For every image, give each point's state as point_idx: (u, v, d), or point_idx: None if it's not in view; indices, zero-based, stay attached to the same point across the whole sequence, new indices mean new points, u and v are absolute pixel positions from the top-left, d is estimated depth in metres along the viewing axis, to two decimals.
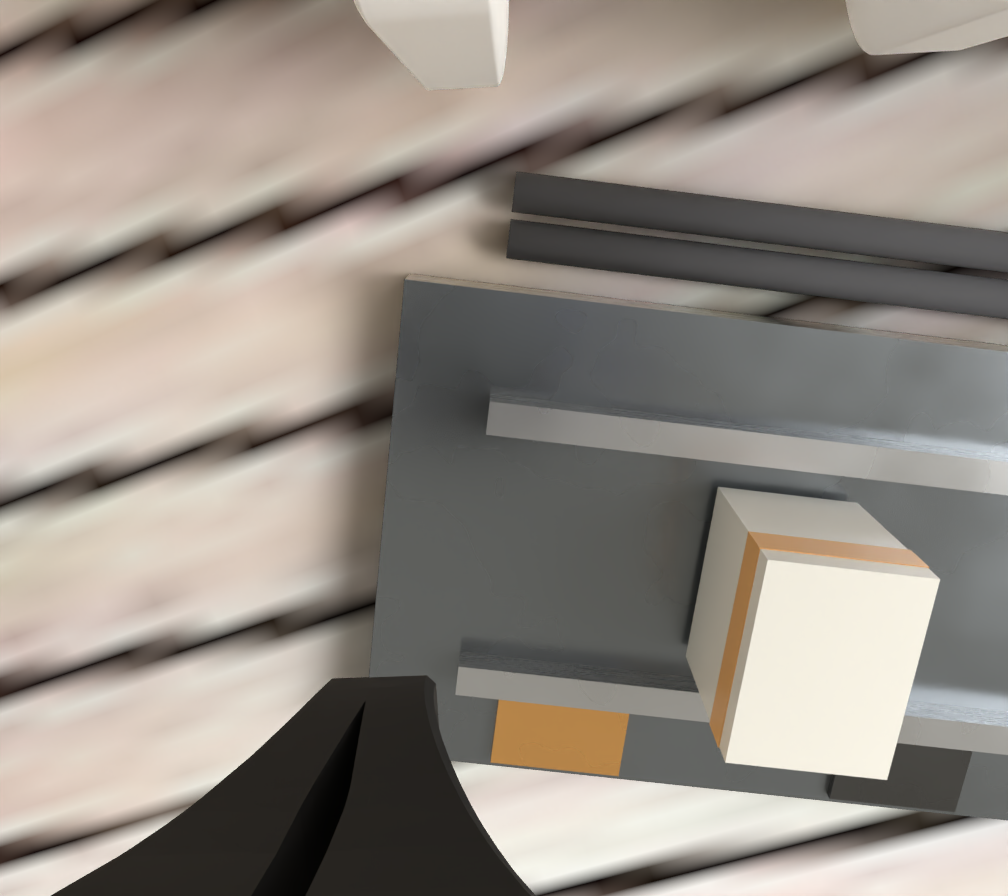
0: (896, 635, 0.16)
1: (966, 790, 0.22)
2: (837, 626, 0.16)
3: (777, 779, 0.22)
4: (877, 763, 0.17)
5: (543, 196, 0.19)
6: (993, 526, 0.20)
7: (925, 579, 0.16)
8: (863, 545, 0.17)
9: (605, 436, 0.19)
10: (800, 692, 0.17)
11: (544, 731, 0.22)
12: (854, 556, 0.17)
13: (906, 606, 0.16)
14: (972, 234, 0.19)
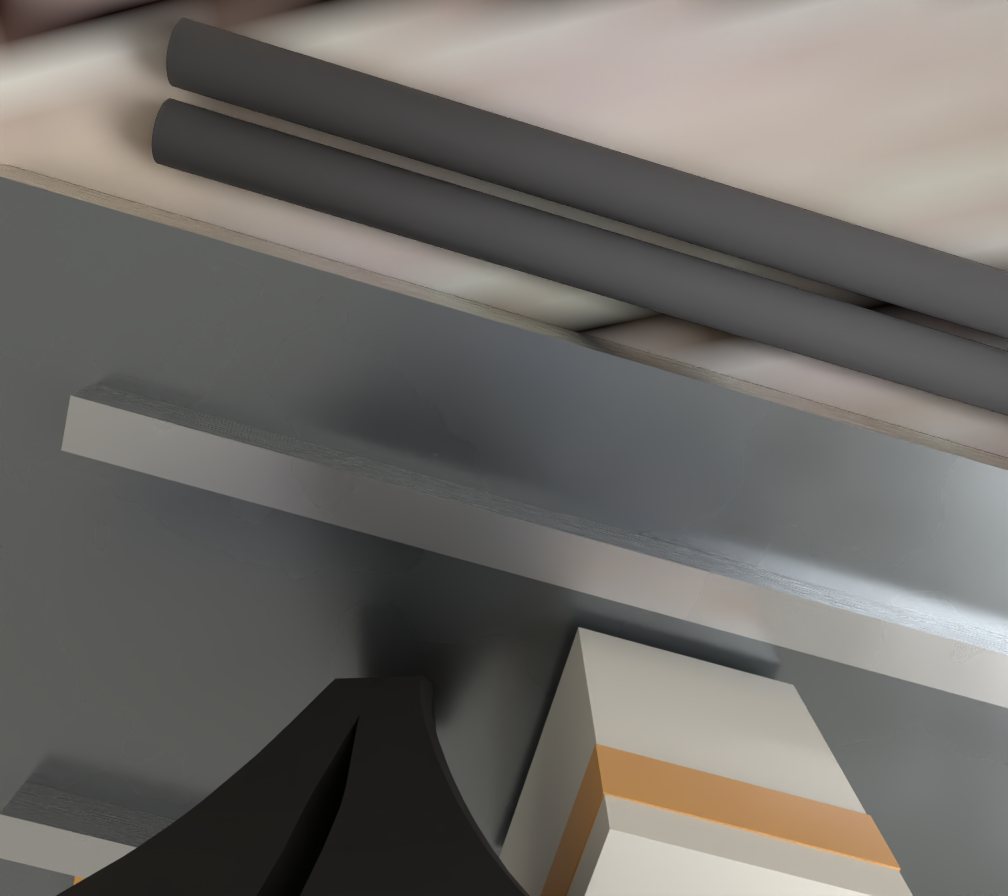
0: None
1: None
2: None
3: None
4: None
5: (217, 64, 0.11)
6: (878, 717, 0.13)
7: None
8: (790, 796, 0.10)
9: (263, 485, 0.11)
10: None
11: None
12: (771, 828, 0.09)
13: None
14: (915, 253, 0.12)
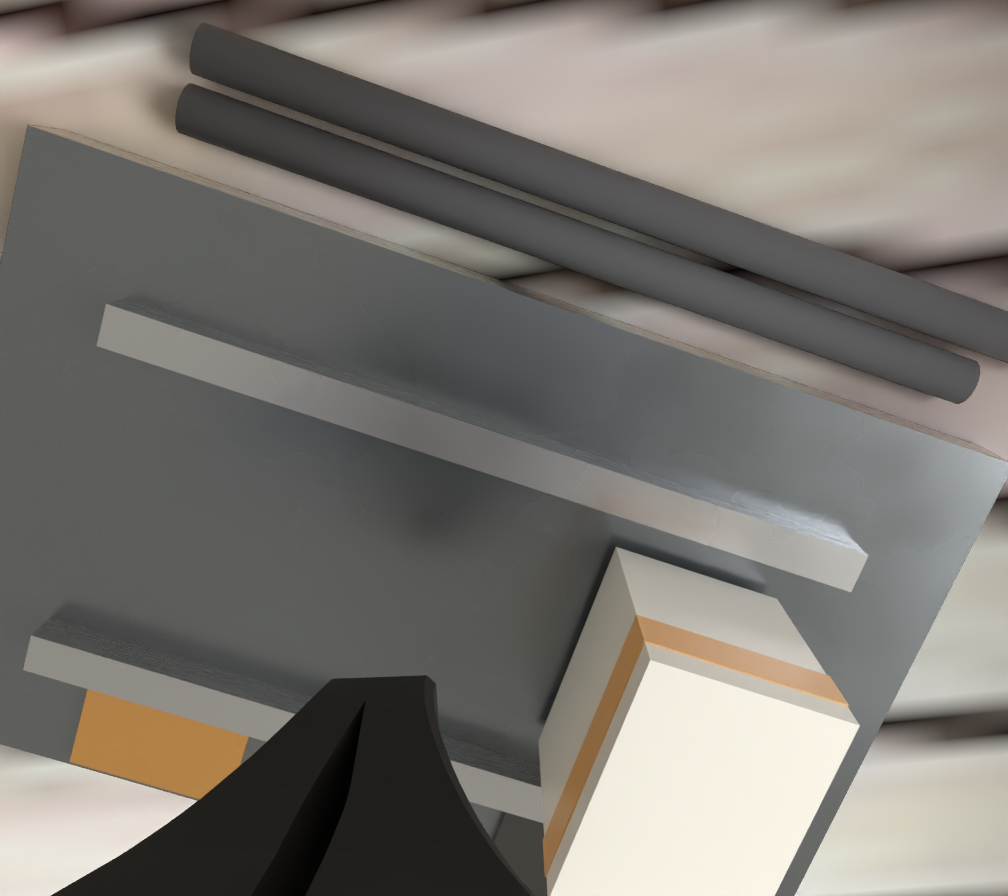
0: (791, 784, 0.13)
1: None
2: (720, 759, 0.13)
3: None
4: None
5: (227, 59, 0.15)
6: None
7: (841, 722, 0.13)
8: (773, 659, 0.14)
9: (249, 379, 0.15)
10: (658, 831, 0.13)
11: (141, 736, 0.17)
12: (759, 674, 0.13)
13: (811, 750, 0.13)
14: (754, 228, 0.16)
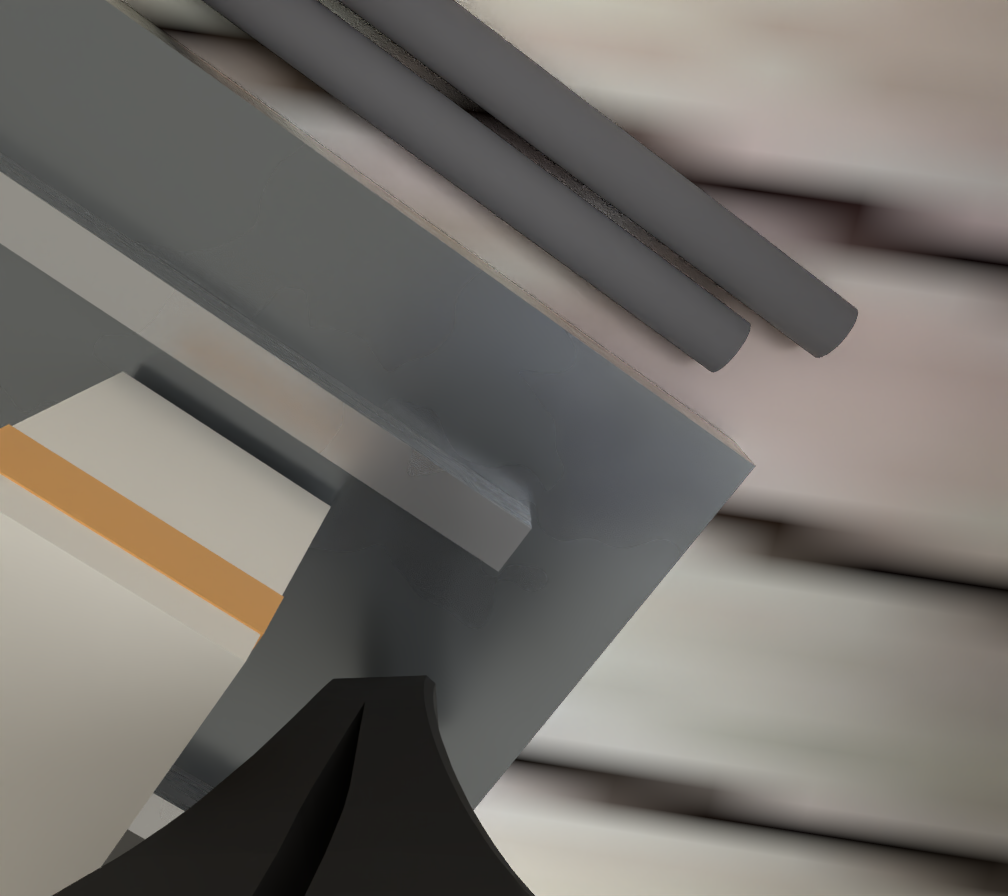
0: (130, 726, 0.08)
1: None
2: (24, 659, 0.08)
3: None
4: None
5: None
6: (344, 528, 0.12)
7: (219, 649, 0.08)
8: (204, 549, 0.09)
9: None
10: None
11: None
12: (142, 553, 0.09)
13: (166, 681, 0.08)
14: (499, 46, 0.11)
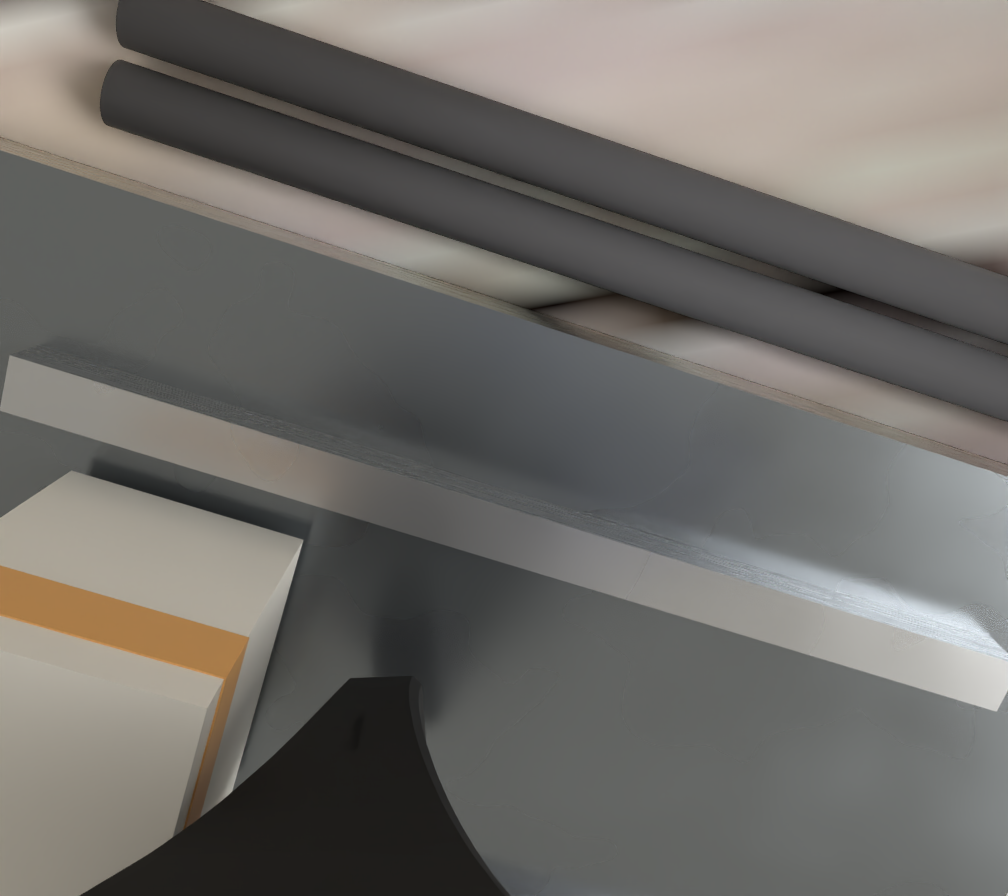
0: (124, 799, 0.08)
1: None
2: (7, 763, 0.08)
3: None
4: None
5: (166, 25, 0.11)
6: (820, 703, 0.13)
7: (179, 703, 0.08)
8: (161, 613, 0.09)
9: (203, 451, 0.11)
10: None
11: None
12: (93, 634, 0.09)
13: (142, 748, 0.08)
14: (866, 238, 0.12)
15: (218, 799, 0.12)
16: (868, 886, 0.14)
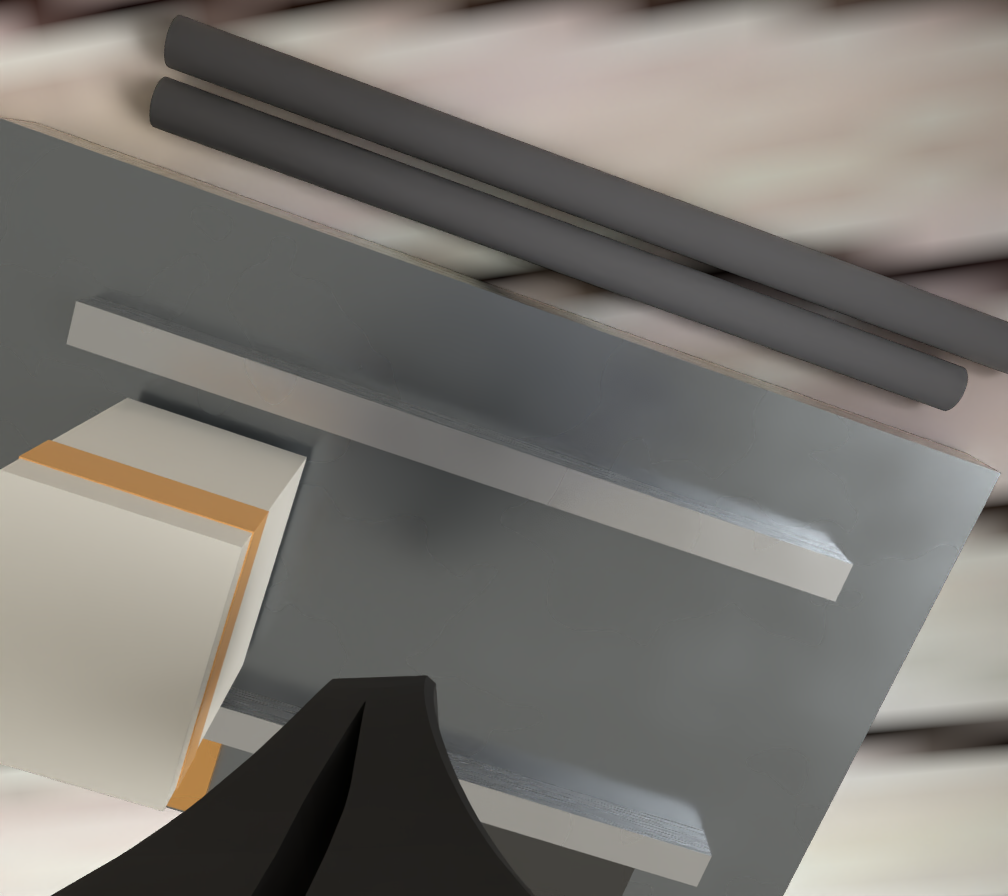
0: (179, 614, 0.12)
1: None
2: (97, 585, 0.12)
3: None
4: (150, 786, 0.12)
5: (203, 52, 0.14)
6: (703, 598, 0.16)
7: (222, 543, 0.12)
8: (205, 492, 0.13)
9: (222, 380, 0.15)
10: (45, 668, 0.12)
11: None
12: (157, 497, 0.12)
13: (194, 576, 0.12)
14: (739, 230, 0.15)
15: (236, 654, 0.15)
16: (743, 750, 0.17)
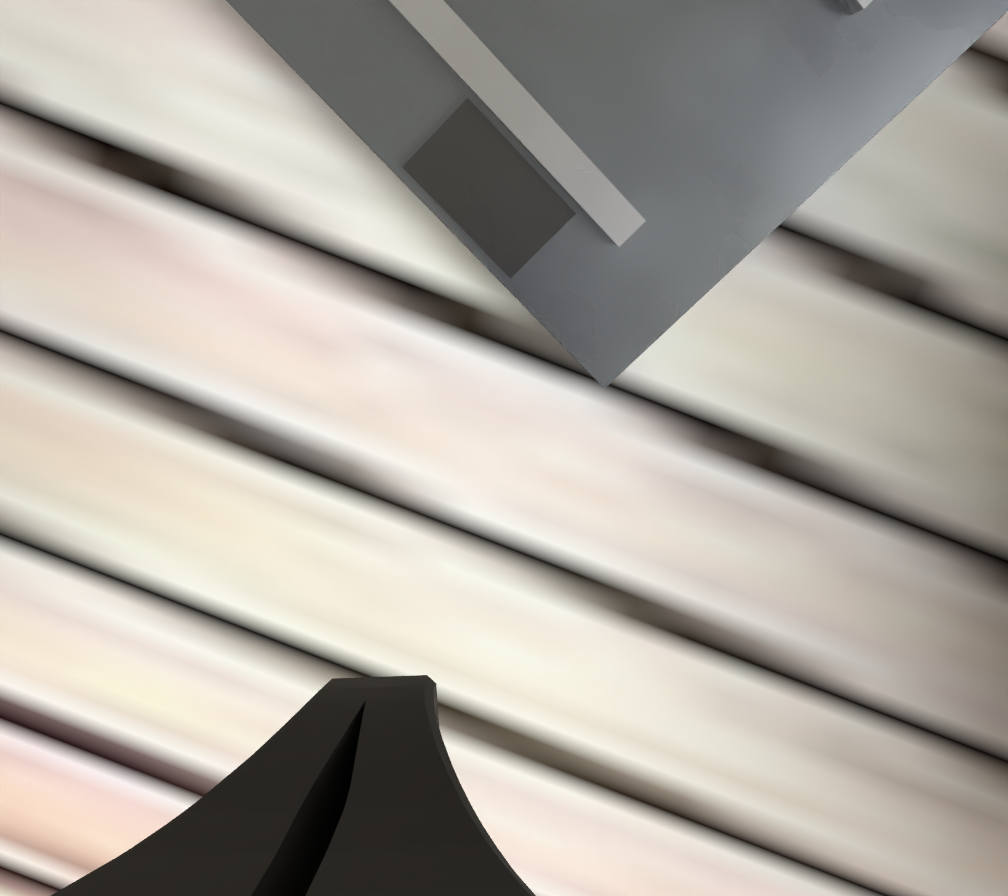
0: None
1: (536, 270, 0.19)
2: None
3: (365, 111, 0.18)
4: None
5: None
6: None
7: None
8: None
9: None
10: None
11: None
12: None
13: None
14: None
15: None
16: (711, 152, 0.18)
